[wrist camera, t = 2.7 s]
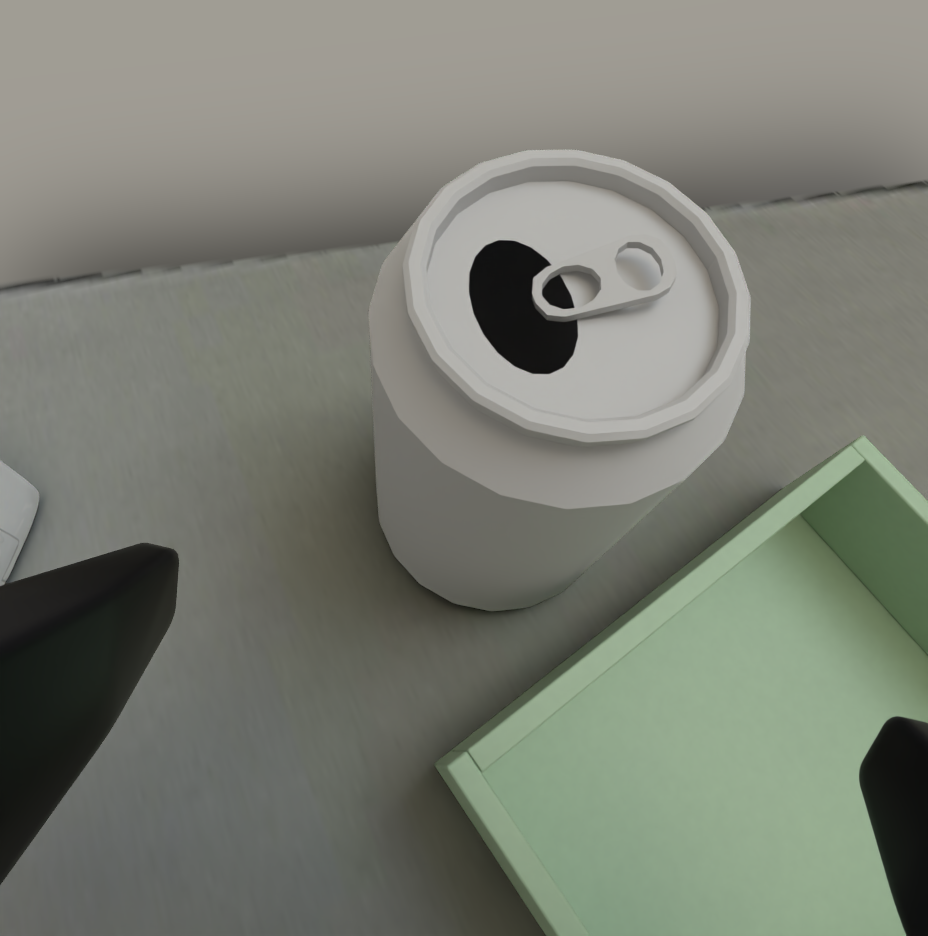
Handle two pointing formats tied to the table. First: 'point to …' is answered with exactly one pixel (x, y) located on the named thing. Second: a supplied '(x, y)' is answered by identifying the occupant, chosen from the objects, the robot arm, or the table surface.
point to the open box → (722, 730)
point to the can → (547, 370)
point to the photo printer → (14, 516)
